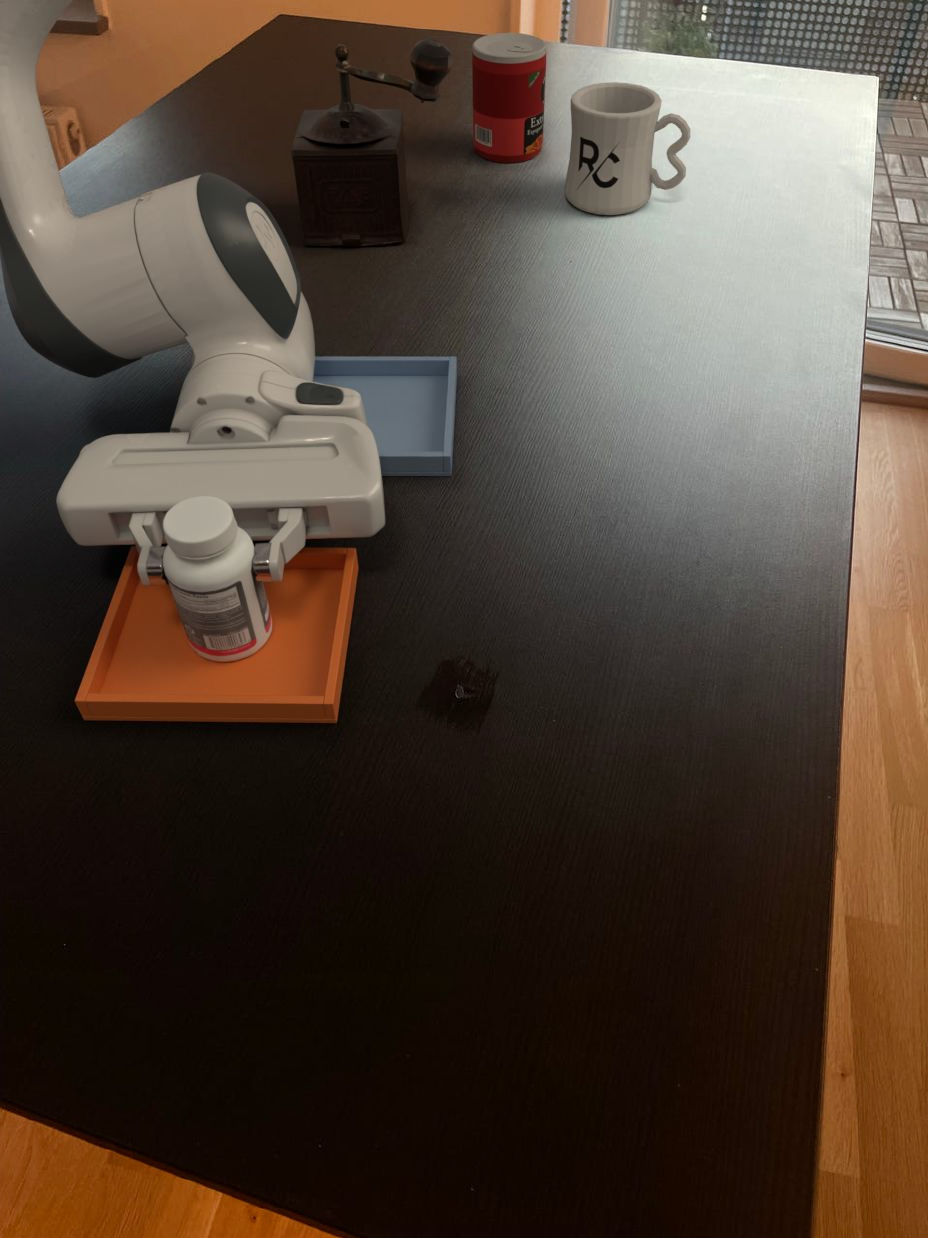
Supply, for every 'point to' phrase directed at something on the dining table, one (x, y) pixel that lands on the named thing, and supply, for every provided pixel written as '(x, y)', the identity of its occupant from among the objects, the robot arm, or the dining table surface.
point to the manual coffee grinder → (360, 157)
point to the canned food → (508, 96)
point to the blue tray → (402, 407)
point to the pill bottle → (215, 580)
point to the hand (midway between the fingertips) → (210, 576)
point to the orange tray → (236, 690)
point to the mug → (618, 148)
